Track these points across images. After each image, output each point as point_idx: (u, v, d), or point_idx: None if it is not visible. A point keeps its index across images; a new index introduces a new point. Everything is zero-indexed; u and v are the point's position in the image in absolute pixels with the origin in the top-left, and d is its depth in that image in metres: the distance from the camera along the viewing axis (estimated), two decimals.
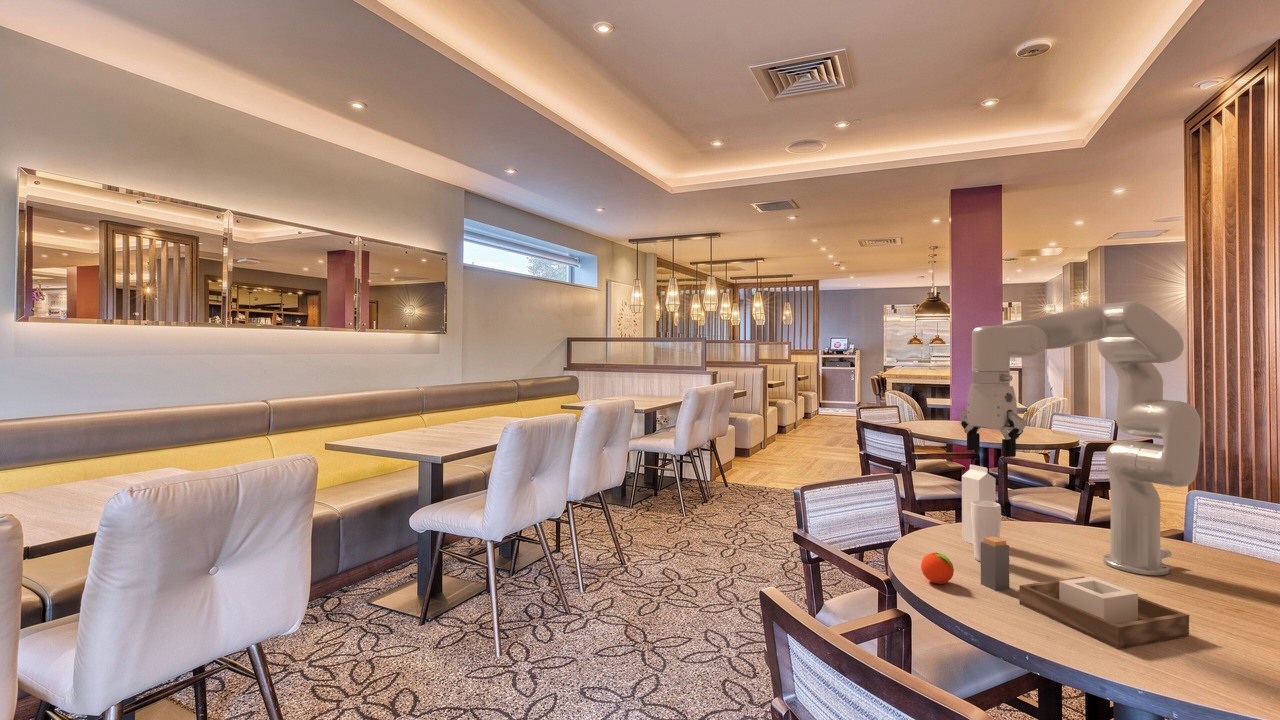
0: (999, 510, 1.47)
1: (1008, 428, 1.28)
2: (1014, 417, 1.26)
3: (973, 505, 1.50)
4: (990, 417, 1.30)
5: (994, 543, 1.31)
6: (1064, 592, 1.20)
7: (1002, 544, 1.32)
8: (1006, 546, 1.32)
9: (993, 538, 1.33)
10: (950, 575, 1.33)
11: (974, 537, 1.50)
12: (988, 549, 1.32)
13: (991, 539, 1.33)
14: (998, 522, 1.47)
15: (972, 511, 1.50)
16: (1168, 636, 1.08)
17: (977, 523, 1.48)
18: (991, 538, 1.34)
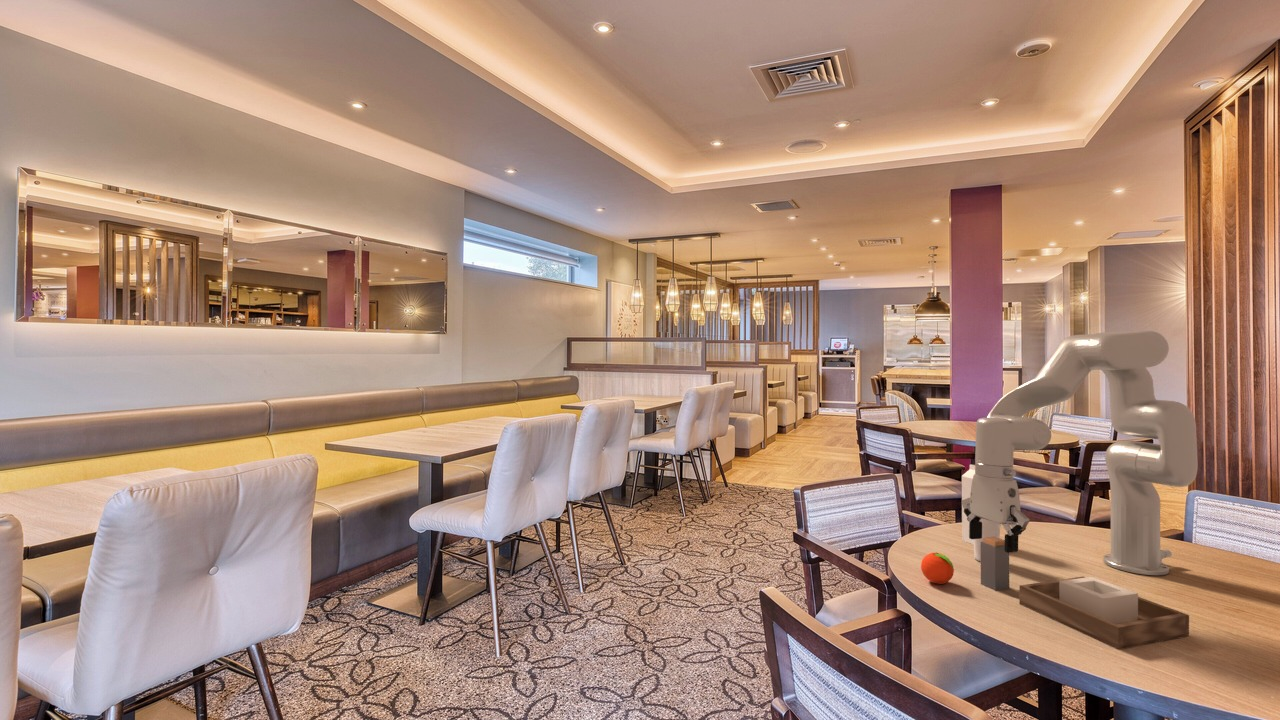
0: None
1: (1011, 523, 1.29)
2: (1017, 514, 1.26)
3: None
4: (993, 510, 1.30)
5: (994, 543, 1.31)
6: (1064, 592, 1.20)
7: (1002, 544, 1.32)
8: None
9: (993, 538, 1.33)
10: (950, 575, 1.33)
11: None
12: (988, 549, 1.32)
13: (991, 539, 1.33)
14: None
15: None
16: (1168, 636, 1.08)
17: None
18: (991, 538, 1.34)
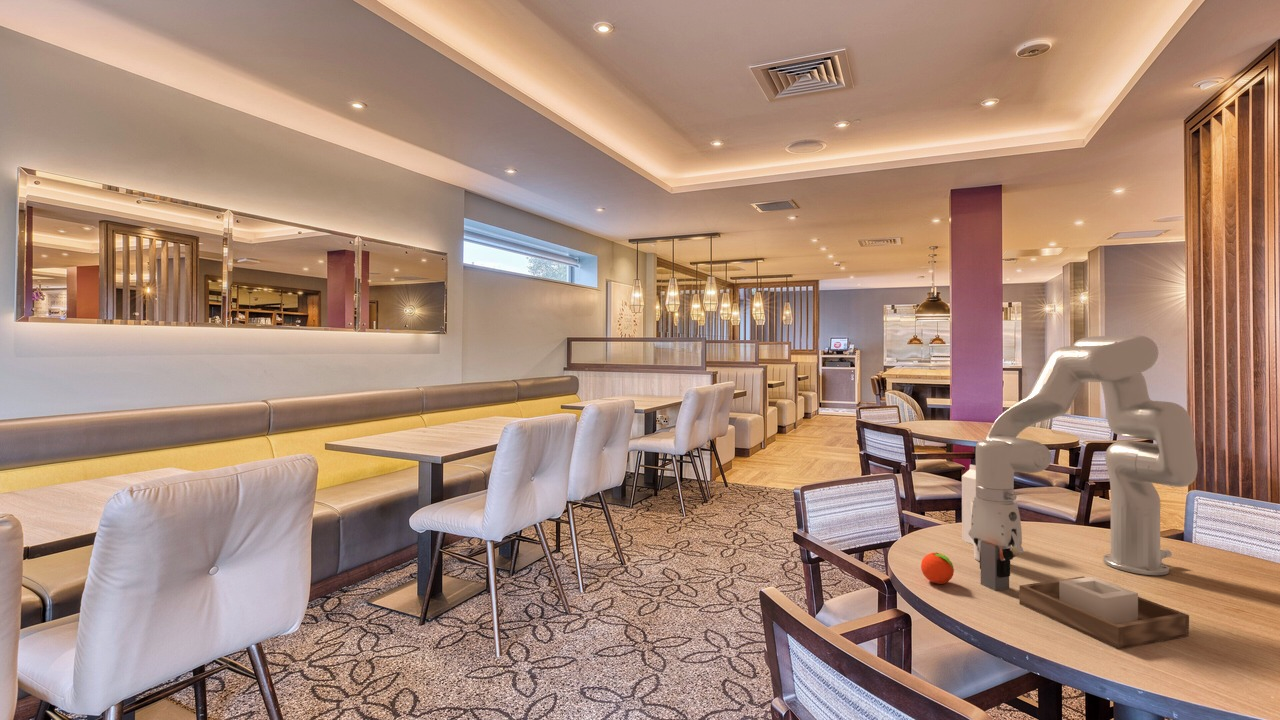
0: None
1: (1006, 548, 1.30)
2: (1014, 543, 1.27)
3: None
4: (994, 534, 1.30)
5: None
6: (1064, 592, 1.20)
7: None
8: None
9: None
10: (950, 575, 1.33)
11: None
12: (988, 549, 1.32)
13: None
14: None
15: None
16: (1168, 636, 1.08)
17: None
18: None
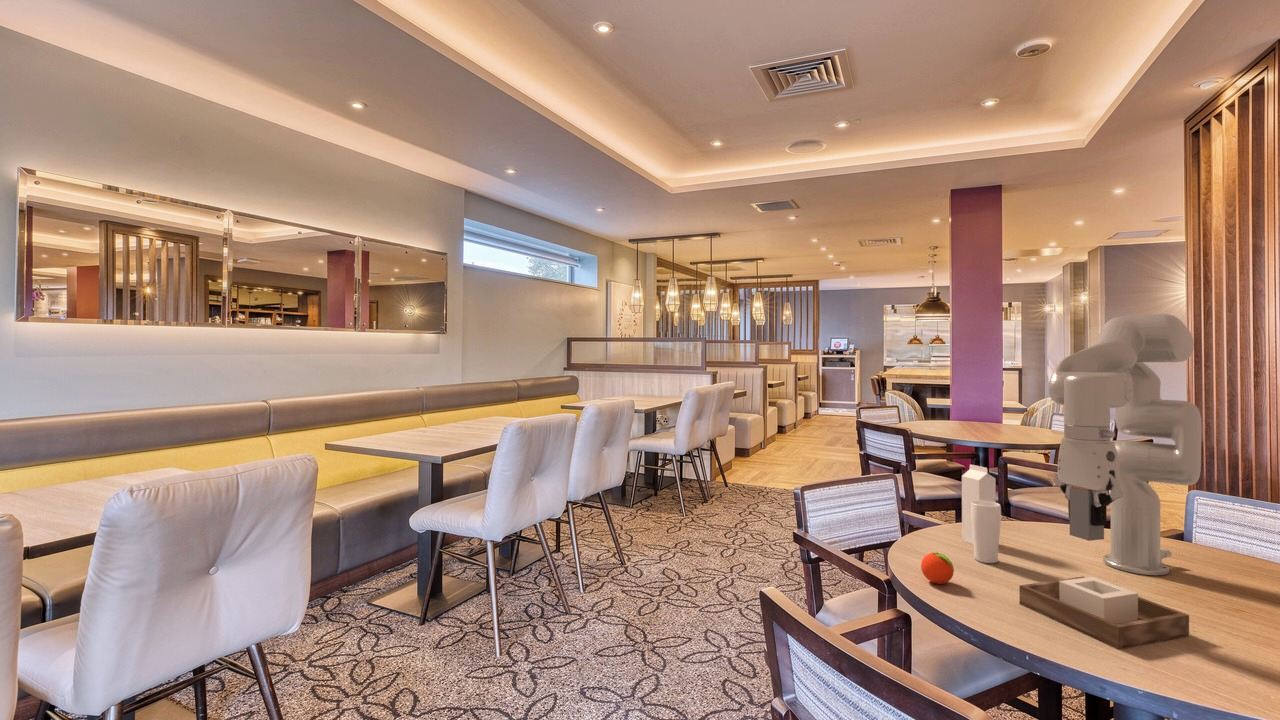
0: (999, 510, 1.47)
1: (1102, 493, 1.16)
2: (1113, 485, 1.13)
3: (973, 505, 1.50)
4: (1088, 477, 1.16)
5: None
6: (1064, 592, 1.20)
7: None
8: None
9: None
10: (950, 575, 1.33)
11: (974, 537, 1.50)
12: (1080, 494, 1.18)
13: None
14: (998, 522, 1.47)
15: (972, 511, 1.50)
16: (1168, 636, 1.08)
17: (977, 523, 1.48)
18: None
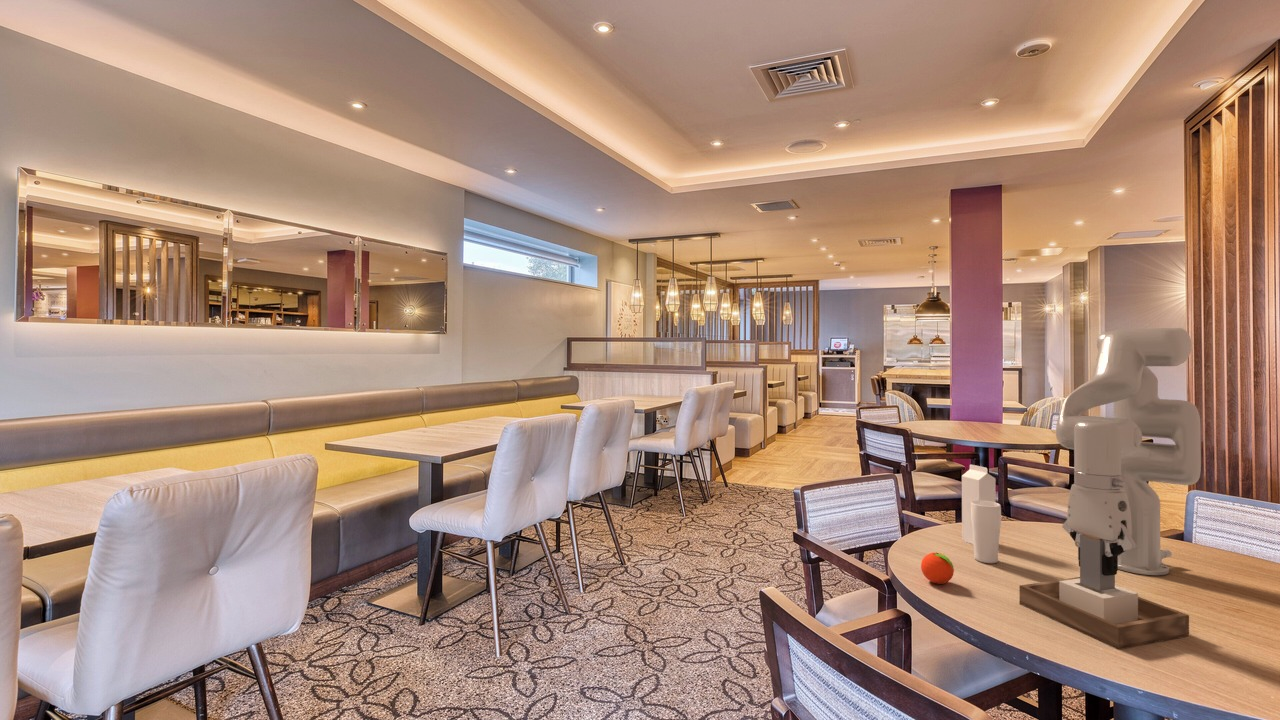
0: (999, 510, 1.47)
1: (1113, 542, 1.15)
2: (1125, 536, 1.12)
3: (973, 505, 1.50)
4: (1099, 526, 1.15)
5: None
6: (1064, 592, 1.20)
7: None
8: None
9: None
10: (950, 575, 1.33)
11: (974, 537, 1.50)
12: (1091, 543, 1.17)
13: None
14: (998, 522, 1.47)
15: (972, 511, 1.50)
16: (1168, 636, 1.08)
17: (977, 523, 1.48)
18: None
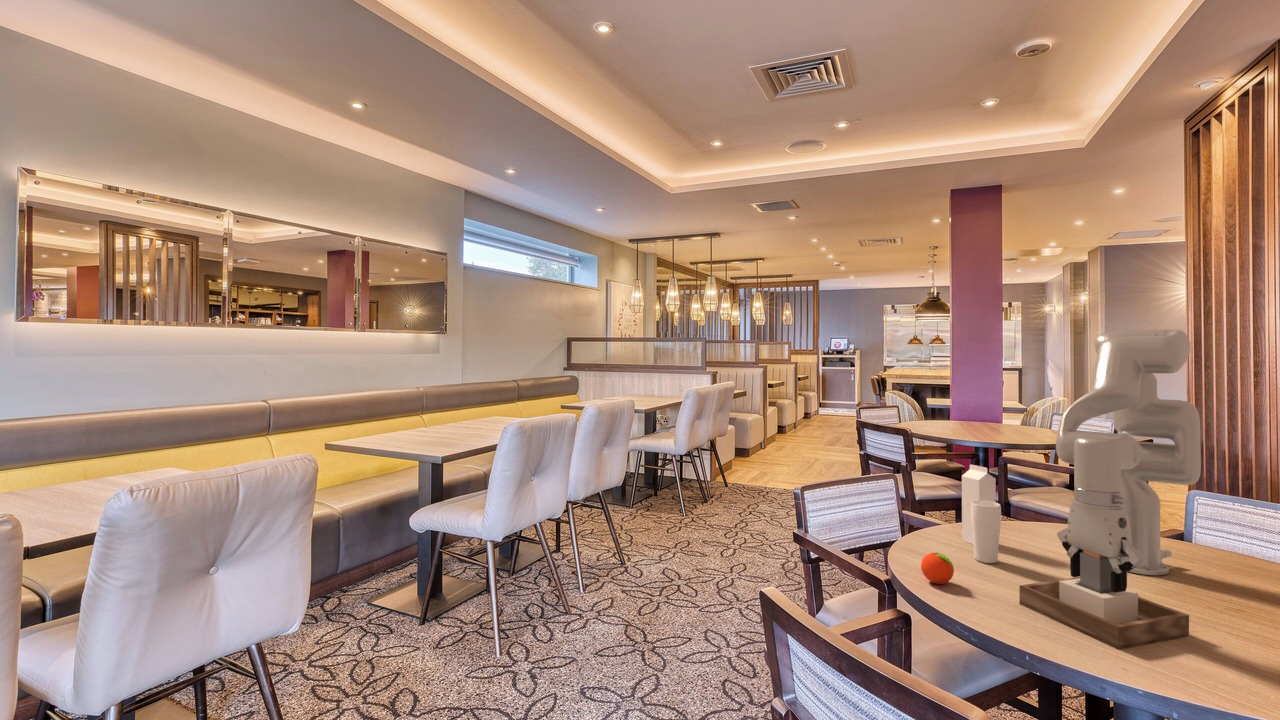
0: (999, 510, 1.47)
1: (1119, 558, 1.14)
2: (1129, 550, 1.11)
3: (973, 505, 1.50)
4: (1099, 543, 1.15)
5: (1098, 555, 1.16)
6: (1064, 592, 1.20)
7: None
8: None
9: None
10: (950, 575, 1.33)
11: (974, 537, 1.50)
12: (1091, 561, 1.17)
13: None
14: (998, 522, 1.47)
15: (972, 511, 1.50)
16: (1168, 636, 1.08)
17: (977, 523, 1.48)
18: None
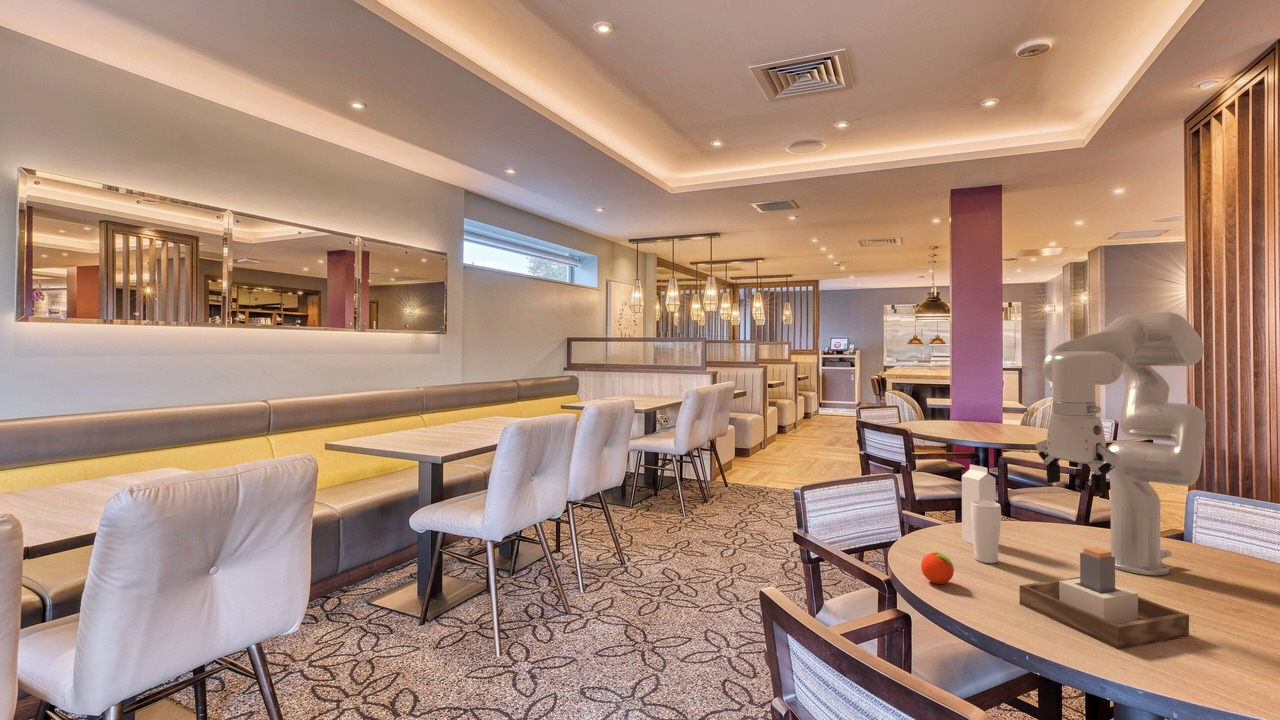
0: (999, 510, 1.47)
1: (1097, 462, 1.22)
2: (1105, 451, 1.19)
3: (973, 505, 1.50)
4: (1077, 450, 1.23)
5: (1098, 555, 1.16)
6: (1064, 592, 1.20)
7: (1107, 556, 1.16)
8: (1112, 558, 1.16)
9: (1095, 549, 1.18)
10: (950, 575, 1.33)
11: (974, 537, 1.50)
12: (1091, 561, 1.17)
13: (1093, 550, 1.17)
14: (998, 522, 1.47)
15: (972, 511, 1.50)
16: (1168, 636, 1.08)
17: (977, 523, 1.48)
18: (1093, 549, 1.18)
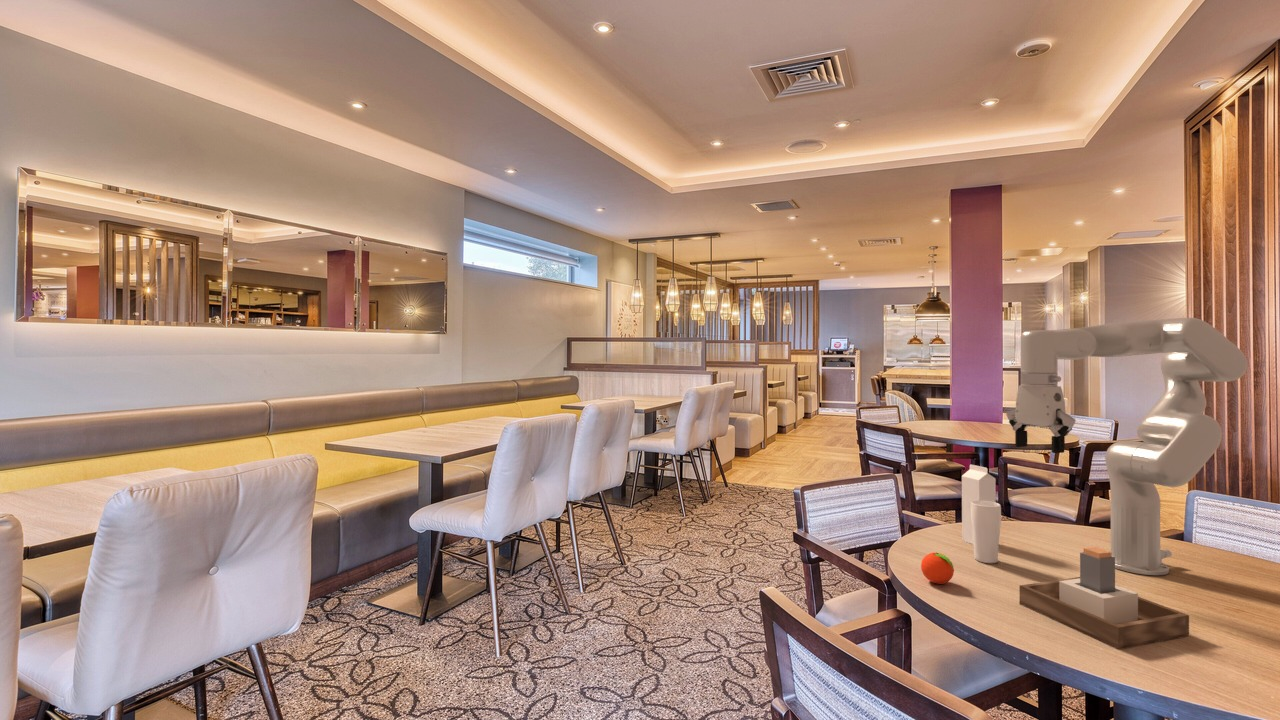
0: (999, 510, 1.47)
1: (1057, 426, 1.37)
2: (1063, 415, 1.35)
3: (973, 505, 1.50)
4: (1039, 415, 1.39)
5: (1098, 555, 1.16)
6: (1064, 592, 1.20)
7: (1107, 556, 1.16)
8: (1112, 558, 1.16)
9: (1095, 549, 1.18)
10: (950, 575, 1.33)
11: (974, 537, 1.50)
12: (1091, 561, 1.17)
13: (1093, 550, 1.17)
14: (998, 522, 1.47)
15: (972, 511, 1.50)
16: (1168, 636, 1.08)
17: (977, 523, 1.48)
18: (1093, 549, 1.18)
